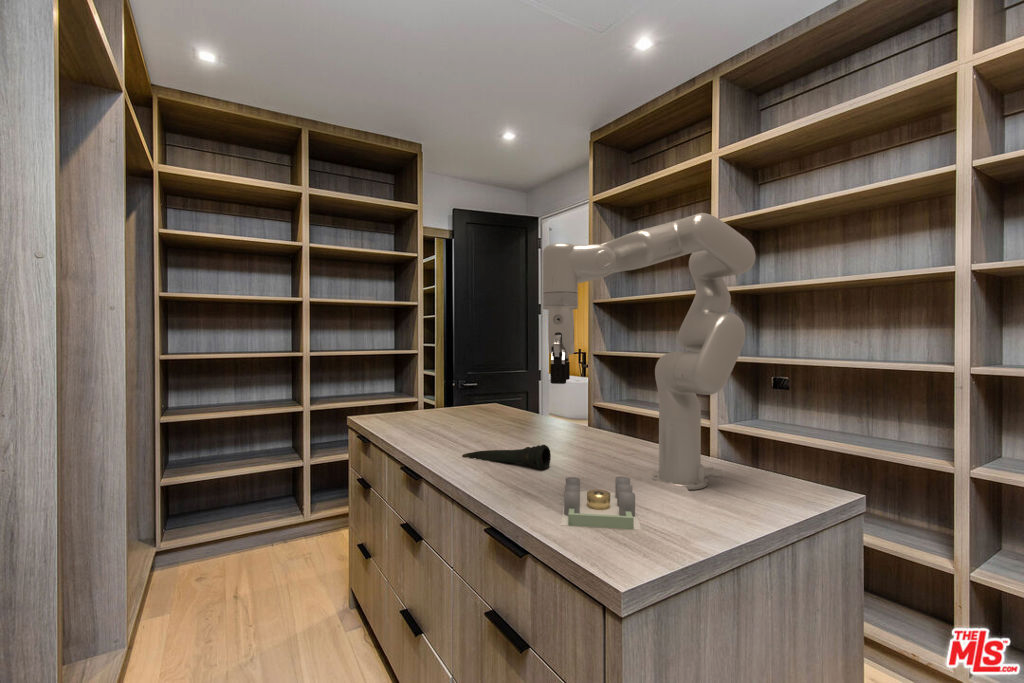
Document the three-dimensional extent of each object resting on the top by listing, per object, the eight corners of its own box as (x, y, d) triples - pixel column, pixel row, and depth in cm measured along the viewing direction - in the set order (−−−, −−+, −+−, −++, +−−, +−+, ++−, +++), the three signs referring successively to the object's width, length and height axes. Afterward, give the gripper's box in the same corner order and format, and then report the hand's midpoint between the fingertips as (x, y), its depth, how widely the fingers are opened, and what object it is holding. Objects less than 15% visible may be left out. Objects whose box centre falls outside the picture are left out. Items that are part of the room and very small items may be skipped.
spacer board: (629, 498, 104) (630, 474, 104) (641, 536, 84) (641, 507, 84) (565, 495, 106) (565, 472, 106) (561, 531, 86) (561, 502, 86)
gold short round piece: (609, 502, 98) (609, 489, 98) (610, 510, 93) (611, 497, 93) (586, 501, 98) (586, 488, 98) (587, 509, 94) (587, 495, 94)
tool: (553, 468, 130) (553, 443, 130) (541, 473, 125) (541, 447, 125) (475, 454, 146) (475, 432, 146) (461, 458, 141) (461, 435, 141)
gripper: (575, 298, 94) (575, 385, 94) (579, 304, 111) (580, 378, 111) (537, 299, 95) (537, 385, 96) (547, 305, 112) (547, 378, 113)
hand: (560, 381), depth 103 cm, fingers open, 9 cm apart
